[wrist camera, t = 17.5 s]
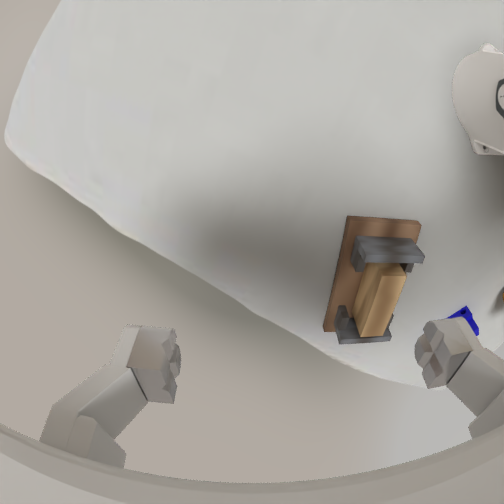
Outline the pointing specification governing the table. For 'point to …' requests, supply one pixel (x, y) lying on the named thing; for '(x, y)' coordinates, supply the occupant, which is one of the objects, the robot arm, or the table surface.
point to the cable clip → (467, 318)
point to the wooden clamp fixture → (353, 264)
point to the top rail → (377, 297)
